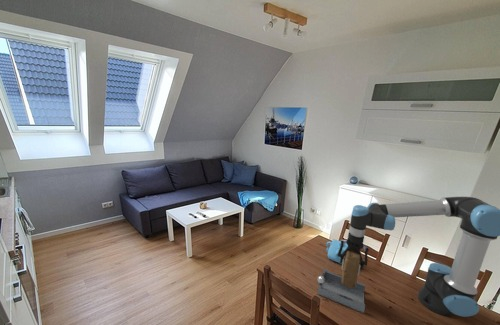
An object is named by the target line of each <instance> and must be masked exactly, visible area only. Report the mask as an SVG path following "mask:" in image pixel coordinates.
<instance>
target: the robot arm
mask: <svg viewBox="0 0 500 325" xmlns="http://www.w3.org/2000/svg"><path fill="white" fill-rule="evenodd" d="M429 216H430V217H431V216H445V217H448V218H450V217H453V218H455V217H456V218H460V219H461V221H460V225H459V229H460V230H461V231H462V234H461V237H460V240H459V243H458V247H457V249H456V252H455V256H454V258H453V263H452V265H451V267H450V266H448V265H447V264H446V265H445V264H443V263H439V262H432V263H429V266H428V268H427V273H426V277H425V282H424V285H423V286H422V287H421V289H419V290H418V292H417V299H418V300H419V302H420V303H421V304H422V305H423V306H424V307H426V308H427V309H428V310H430V311H431V312H433V313H436V314H439V315H442V316H453V314H454V315H456V316H459V317H465V318H467V317H468V318H469V317H473V316H475V315H477V314H478V313H479V311H480V306H479V303H478V302H477V301H476V297H477V295H478V289H477V287H476V286H475V285H476V282H477V279H478V277H479V274H480V271H481V268H482V266H483V263H484V259H485V258H486V257H485V256H486V254H487V251H488V248H489V246H490V243H491V241H495V240H497V239H498V237H500V208H498V207H496V206H495V205H492V204H489V203H488V202H485V201H483V199H479V198H477V197H472V196H447V197H441V198H440V199H437V200H435V199H434V200H422V201H410V202H409V201H408V202H397V203H395V202H394V203H385V204H384V203H383V204H382V203H381V204H379V203H377V202H370V203H369V204H368V205H367V206H366V205H365V206H364V205H362V204H356V205H354V206H353V207H352V212H351V216H350V222H349V223H350V224H349V227H348V228H349V230H348V234H347V239H343V238H341V240H340V241H341V246H340V249H339V252H338V256H339V257H340V258H341V259H340V263H342V264H341V266H340V267H341V268H340V270H343V265H344V259H345V257H344V256H345V255H346V253H347V251H348V250H350V249H351V250H355V251H357V253H359V254H360V263H359V271H358V276H360V271H362V270H363V267H364V266H368V252H369V251H370V248H369V246H368V245H364V241H365V235H366V231H367V230H366V229H367V227H370V228H375V229H379V230H384V231H393V230H394V229H395V227H396V219H395V218H407V217H409V218H410V217H429ZM345 243H347V245H348V247H347V248H346V249H345V251H344V252H343V253H342V254H341V251H342V249H343V245H344V244H345ZM362 249H363V251H364V259H363V256H362V252H361V250H362ZM340 263H339V264H340Z"/></svg>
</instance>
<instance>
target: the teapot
mask: <svg viewBox="0 0 500 325" xmlns="http://www.w3.org/2000/svg"><path fill="white" fill-rule="evenodd" d="M329 245H330V246H329ZM340 246H341V240H338V239H333V240H332V241H327V242H326V247H327V248H326V253H327V259H329V260H330V261H332V262H337V263H338V264H340V265H342V263H340V259H341V258H340V257H339V256H338V252H339V249H340ZM347 247H348V245H347V243H345V244H344V245H343V249H342V251H341V254H342V253H343V252H344V251H345V249H346V248H347ZM344 257H345V256H344Z"/></svg>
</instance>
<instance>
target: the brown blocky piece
mask: <svg viewBox="0 0 500 325" xmlns="http://www.w3.org/2000/svg"><path fill="white" fill-rule="evenodd" d="M359 263H360V254H359V253H357V251H355V250H351V249H350V250H348V251H347V253H346V255H345V259H344V265H343V270H342V272H341V276H342V279H341V282H342V284H343V285H345V286H346V287H349V288H354V287H355V286H356V282H358V271H359Z"/></svg>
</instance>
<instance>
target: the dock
mask: <svg viewBox="0 0 500 325" xmlns="http://www.w3.org/2000/svg"><path fill="white" fill-rule="evenodd" d="M341 279H342V275H339V274H336V273H334V272H331V271H328V270H327V267H323V269H322V273H321V275H319V276H318V277H317V282H318V287H317V295H319V296H322V297H323V298H326V299H329V301H330V300H331V301H334V302H335V303H338V304H340V305H343V306H345V307H347V308H350V309H353V310H354V311H357V312H359V313H362V314H365V308H366V303H365V290H366V284H364V283H361V282H359V281H357V282H356V286H355V287H354V288H349V287H346V286H345V285H343V284H342V282H341Z"/></svg>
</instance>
